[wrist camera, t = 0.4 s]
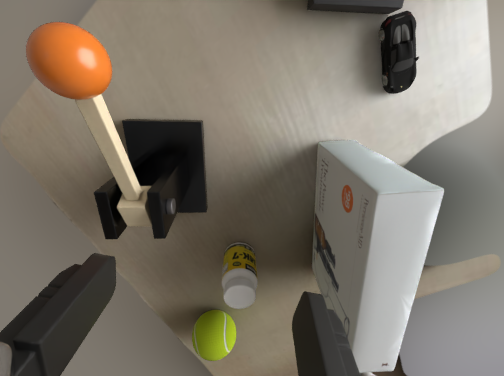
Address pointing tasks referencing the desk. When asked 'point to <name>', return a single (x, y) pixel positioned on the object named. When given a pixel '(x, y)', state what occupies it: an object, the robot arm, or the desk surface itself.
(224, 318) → the tennis ball
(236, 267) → the supplement bottle
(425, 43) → the desk surface
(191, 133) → the switch bracket
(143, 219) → the switch lever
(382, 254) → the skincare box
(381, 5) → the switch block
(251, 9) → the desk surface
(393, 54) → the toy car
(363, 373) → the mushroom
